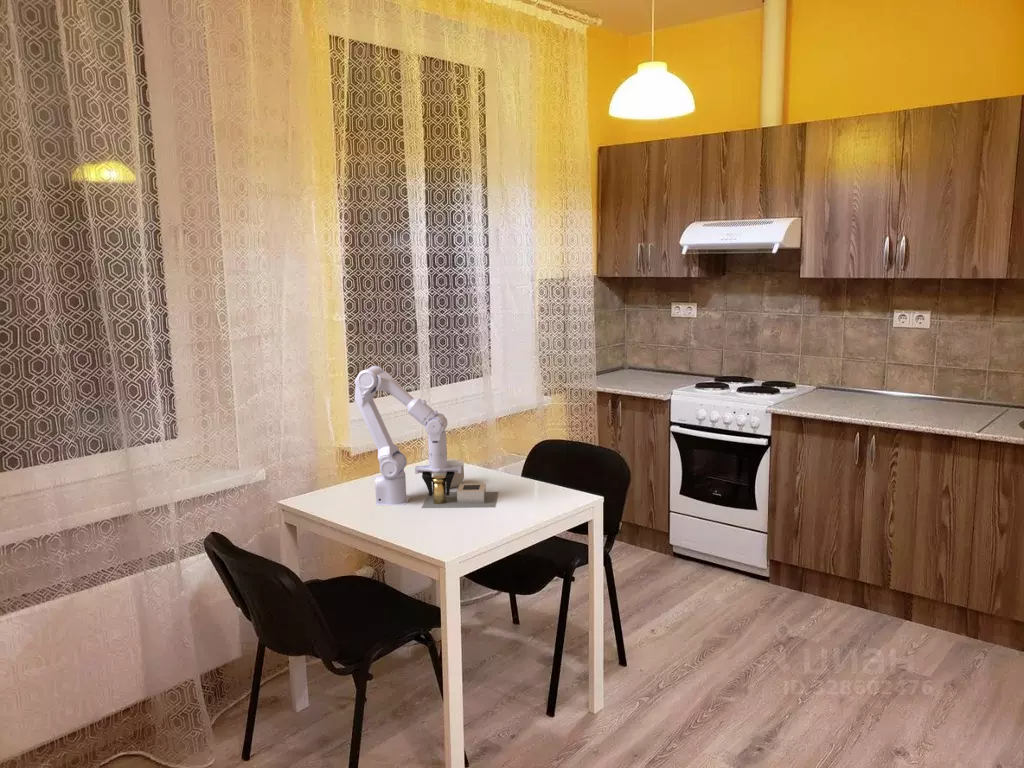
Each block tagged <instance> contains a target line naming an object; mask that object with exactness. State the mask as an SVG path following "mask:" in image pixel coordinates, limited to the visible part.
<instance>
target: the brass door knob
mask: <svg viewBox="0 0 1024 768" xmlns="http://www.w3.org/2000/svg"><path fill="white" fill-rule="evenodd" d="M445 481H446V476H433V475H432V477H431V482H432V490H433V503H434V504H444V503H446V487H445Z"/></svg>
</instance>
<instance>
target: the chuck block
mask: <svg viewBox="0 0 1024 768" xmlns="http://www.w3.org/2000/svg"><path fill="white" fill-rule="evenodd" d="M486 484H487V483H486V482H485V483H484V482H481V483H479V482H478V483H477V482H476V483H471V482H470V483H461V484H459V486H457V491H456V492H457V504H481V503H484V501H485V497H486V492H487V488H486V486H487V485H486Z"/></svg>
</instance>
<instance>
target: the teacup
mask: <svg viewBox="0 0 1024 768" xmlns="http://www.w3.org/2000/svg"><path fill="white" fill-rule="evenodd" d="M447 465H456V466H462V472H461V473H455V474H454V476H453V479H452V482H451V486H450V489H453V488H458V487H459V484H463V483H464V479H465V472H464V471H465V470H464V468H465V467H464V466H465V465H464V462H463V461H461V460H458V459H457V460H456V459H447ZM446 474H447V473H432V477H433V476H446ZM445 487H446V481H445Z"/></svg>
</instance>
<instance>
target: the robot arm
mask: <svg viewBox="0 0 1024 768" xmlns="http://www.w3.org/2000/svg"><path fill="white" fill-rule="evenodd" d="M354 385H355V388H354V390H355V391H354V402H355V404H356V406H357V408H358V410H359V413H360V415H361V417H362V419H363V421H364V423H365V426H366V429H367V430H368V432H369V435H370V437H371V439H372V441H373V443H374V445H375V447H376V449H377V460H378V462H379V471H380V474H381V475H378V476H376V478H375V488H374V489H375V503H376V504H375V506H406V505H407V503H408V501H409V499H410V496H407V485H406V484H407V481H406V480H407V479H406V471H405V468H406V467H407V464H408V460H407V457H406V456H405V454H403V452H401V451H400V448H399V447H398V446H397V445H396V444H395V443H394V442H393V440H392V437H391V436H390V434H389V431H388V429H387V427H386V425H385V422H384V420H383V418H382V416H381V413H380V411H379V409H378V407H377V405H376V403H375V401H374V397H375V395H376V392H377V391H380V392H387V393H389V394H390V395H391V396H392V397H394V398H395V399H396V400H398V401H399V402H400V403H401V404H403V405H405V406H406V409H407V414H409V415H410V416H411V417H413V418H414V419H415V420H416V421H417V422H419V423H420V425H422V426H423V427H424V430H425V432H426V433H427V437H428V438H427V445H428V464H427V465H426V464H425V465H418V466H415V467H414V474H416V475H417V474H418V475H419V474H422V475H421V478H422V480H423V481H424V483H425V485H426V489H427V491H428V493H429V496H432V494H433V482H431V477H433V474H432V473H447V474H446V496H449V492H451V491H450V489H451V488H450V486H451V482H452V479H453V476H454V474H455V473H461V472H462V466H456V465H447V460H448V448H447V447H448V446H447V444H448V442H447V431H446V429H447V427H448V419H447V418H446V417H445V415H444V414H442V413H439V412H438V411H437V410H434V409H433V408H432V407H430V406H429V405H428V404H427V401H426V399H421V398H414V397H413V396H412V395H411V394H410V393H409V392H408V391H407V390H405V388H403V387H402V386H401V385H400V384H399V383H398V382H397V381H396V380H395V379H394V378H393V377H392V376H391V374H389V372H387V371H384V369H383V368H381V367H380V366H378V365H372V366H370V367H368V368H366V369H363V370H360V372H359V373H358V375H357V376H356V378H355V380H354Z"/></svg>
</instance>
